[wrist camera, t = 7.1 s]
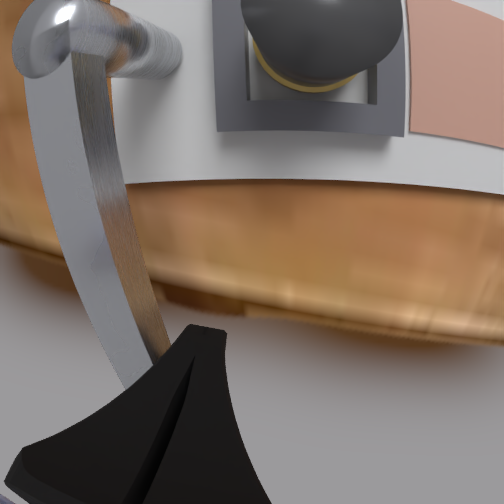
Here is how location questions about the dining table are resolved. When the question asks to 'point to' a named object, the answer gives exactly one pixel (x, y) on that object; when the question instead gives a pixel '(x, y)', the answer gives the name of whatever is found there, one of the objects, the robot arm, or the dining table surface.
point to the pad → (456, 71)
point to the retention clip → (94, 160)
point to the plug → (321, 39)
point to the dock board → (280, 114)
